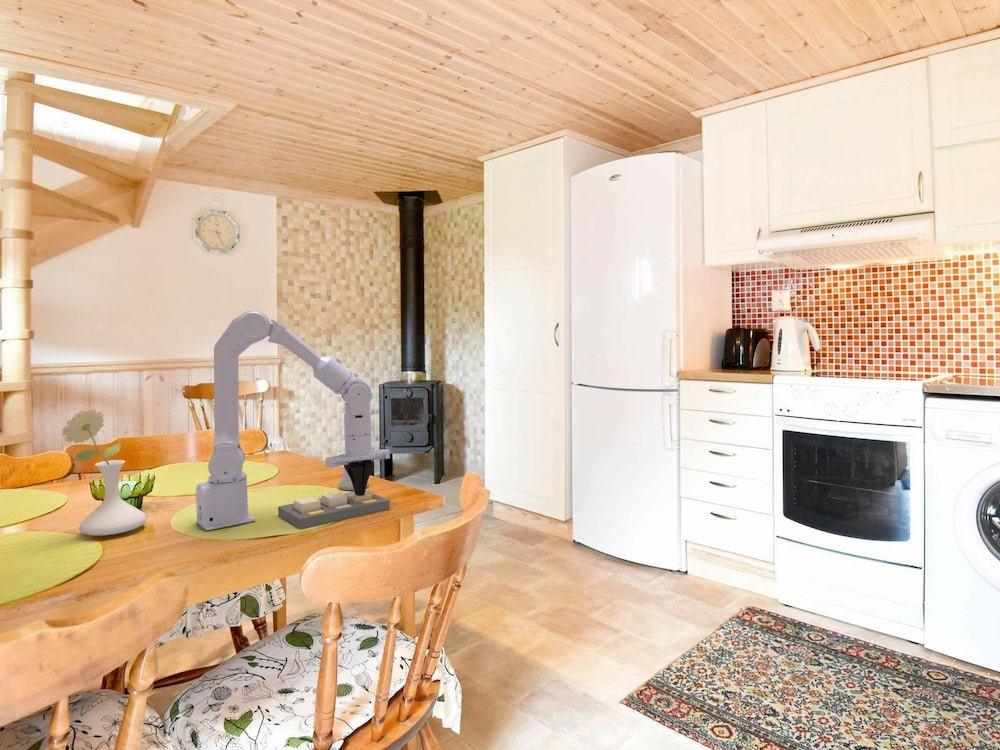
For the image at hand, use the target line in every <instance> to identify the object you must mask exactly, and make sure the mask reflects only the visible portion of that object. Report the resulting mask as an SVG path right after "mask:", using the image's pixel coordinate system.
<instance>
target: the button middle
mask: <svg viewBox="0 0 1000 750" xmlns="http://www.w3.org/2000/svg"><path fill="white" fill-rule="evenodd" d="M321 498H322V504H323V505H325V506H327V507H329V508H331V507H336V506H340V505H345V504H347V495H345V493H343V492H340V491H335V492H330V493H324V494H321Z"/></svg>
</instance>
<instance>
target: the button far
mask: <svg viewBox="0 0 1000 750" xmlns="http://www.w3.org/2000/svg"><path fill="white" fill-rule="evenodd" d="M347 499H348V500H350V501H352V502H360V501H365V500H369V499H372V494H369V493H367V492H365V495H362V496H358V495H355V493H353V494H348V495H347Z"/></svg>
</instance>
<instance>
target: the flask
mask: <svg viewBox="0 0 1000 750" xmlns="http://www.w3.org/2000/svg"><path fill="white" fill-rule="evenodd" d="M354 461H355V460H354ZM340 478H341V479H340V482H339V483H338V489H340V490H343V491H354V488H353V484H352V482H351V479H350V477H349V475H348V473H347V471H346V470H345V468H344V470H343V473H342V476H341V477H340ZM369 486H370V483H369V481H368V482H367V486H366V488H368V487H369Z"/></svg>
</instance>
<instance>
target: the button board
mask: <svg viewBox="0 0 1000 750" xmlns="http://www.w3.org/2000/svg"><path fill="white" fill-rule="evenodd" d="M365 492H367V493H369V494H372V499H369V500H365V501H360V502H352V501H350V500H348V499H347V504H345V505H340V506H336V507H331V508H329V507H327V506H325V505H323V504H322V497H320V498H318V499H319V500H320V504H321V510H316V511H311V512H307V513H300V512H298V511H296V510H295V508H294V502H293V503H289V504H284V505H279V506H277V513H278V516H279V517H280V518H282V519H283V520H285V521H286V522H289V524H292V526H293V525H294V526H295V527H297V529H300V530H303V529H308V528H311V527H316V526H319V525H320V526H321V525H324V524H329V523H330V524H331V523H333V522H339V521H342V520H347V519H350V518H351V519H352V518H356V517H361V516H364V515H370V514H374V513H377V512H383V511H387V510H390V506H391V505H390V499H388V498H385V497H383V496H380V495H377V494H375V493H372V492H370V491H368V490H365ZM353 493H355V492H354V491H352V492H346V493H344V494H345V495H348V494H353Z"/></svg>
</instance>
